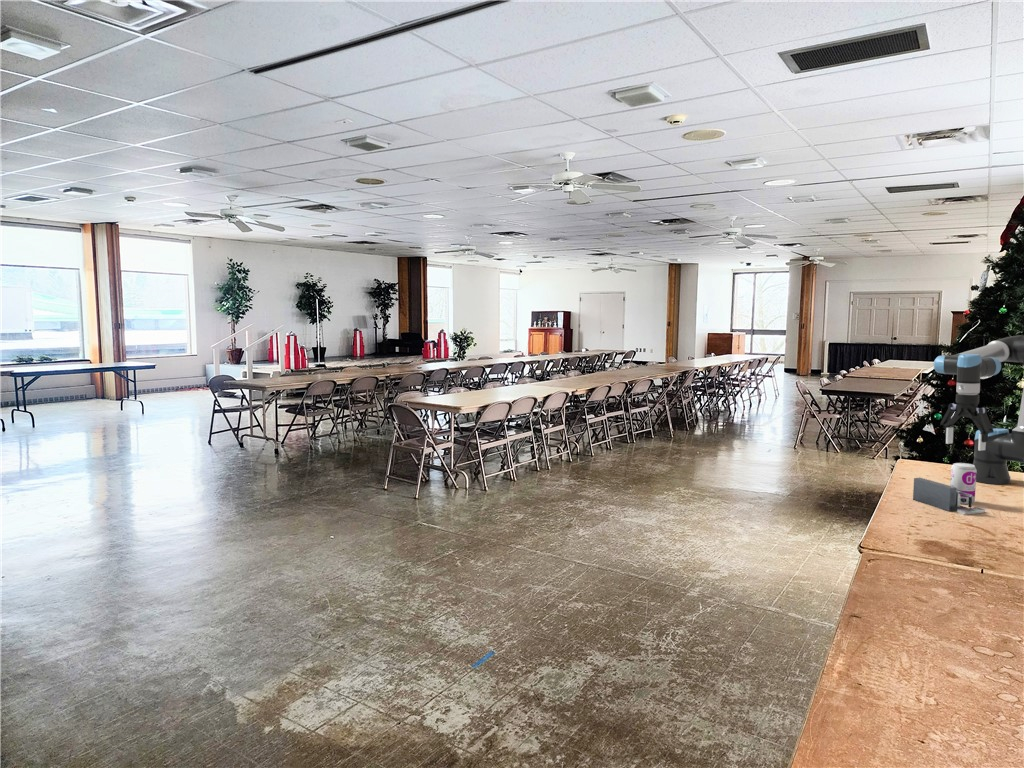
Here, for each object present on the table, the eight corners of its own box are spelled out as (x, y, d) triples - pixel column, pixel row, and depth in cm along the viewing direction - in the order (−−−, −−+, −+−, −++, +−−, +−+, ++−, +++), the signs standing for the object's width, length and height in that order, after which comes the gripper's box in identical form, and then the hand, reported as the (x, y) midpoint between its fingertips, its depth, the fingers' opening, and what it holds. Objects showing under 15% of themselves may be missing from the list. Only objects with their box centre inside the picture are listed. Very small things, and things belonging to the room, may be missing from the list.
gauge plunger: (927, 496, 259) (928, 482, 258) (971, 510, 240) (972, 494, 240) (925, 497, 258) (925, 482, 258) (969, 510, 240) (970, 495, 239)
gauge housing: (935, 497, 261) (936, 475, 260) (985, 512, 241) (986, 489, 240) (912, 499, 258) (913, 478, 257) (961, 515, 238) (962, 491, 237)
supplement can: (979, 504, 250) (981, 467, 249) (958, 505, 250) (960, 467, 249) (965, 498, 258) (967, 462, 257) (944, 499, 258) (946, 462, 257)
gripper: (931, 390, 261) (929, 441, 264) (991, 398, 238) (988, 454, 240) (946, 389, 263) (943, 440, 266) (1007, 396, 239) (1003, 452, 242)
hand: (965, 446), depth 253 cm, fingers open, 13 cm apart
